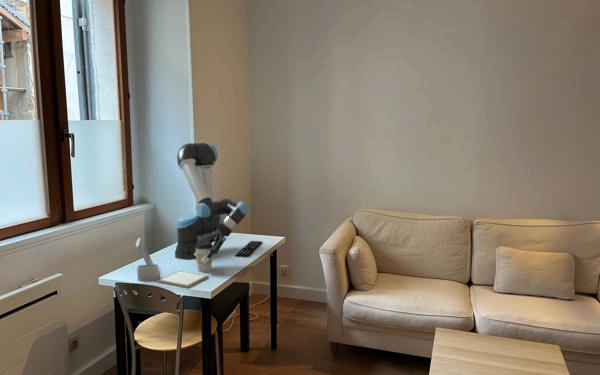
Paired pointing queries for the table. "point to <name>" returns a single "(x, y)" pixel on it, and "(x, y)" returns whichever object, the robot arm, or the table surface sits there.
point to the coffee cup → (201, 251)
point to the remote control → (248, 249)
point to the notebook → (183, 279)
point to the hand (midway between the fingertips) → (199, 259)
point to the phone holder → (148, 270)
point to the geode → (202, 237)
